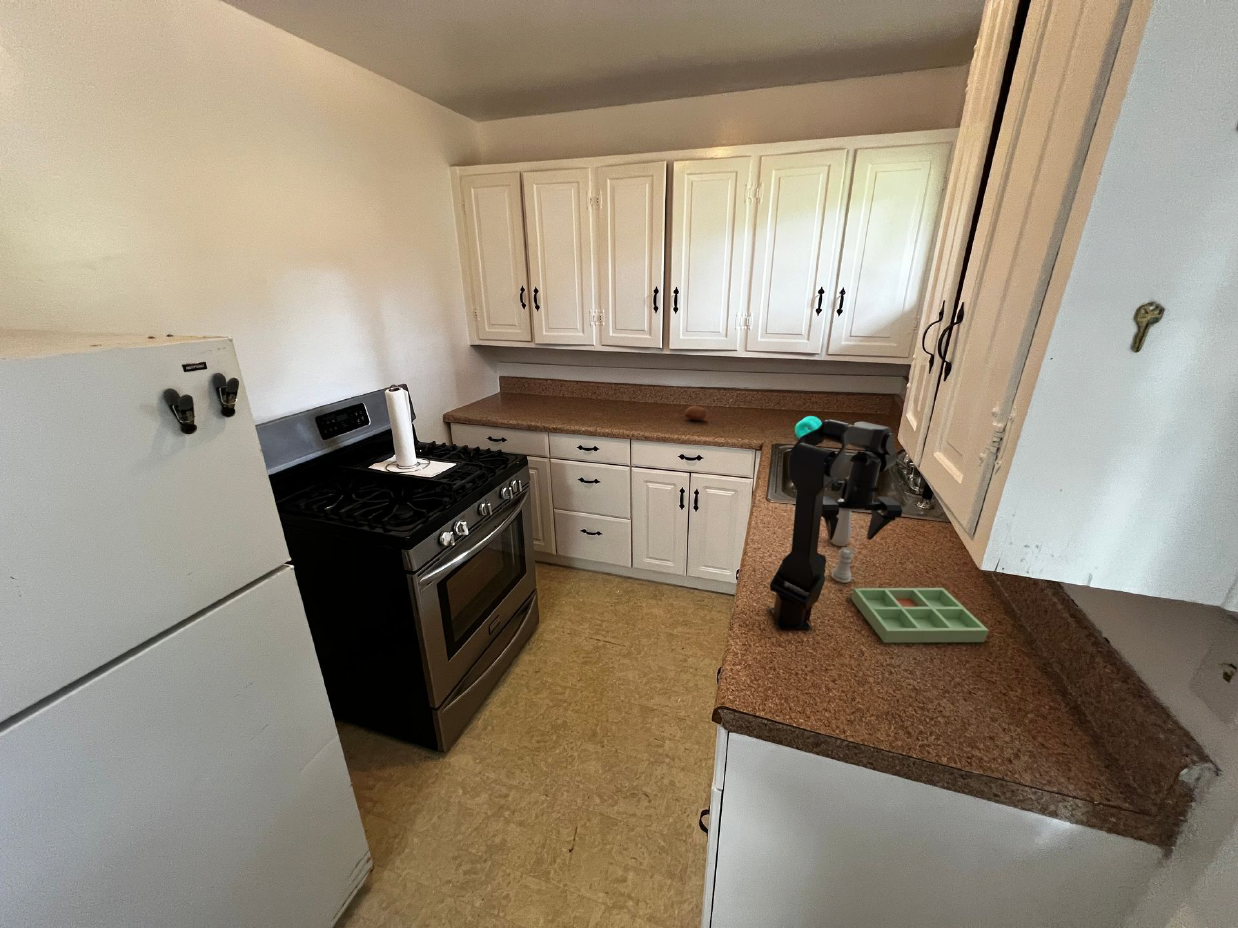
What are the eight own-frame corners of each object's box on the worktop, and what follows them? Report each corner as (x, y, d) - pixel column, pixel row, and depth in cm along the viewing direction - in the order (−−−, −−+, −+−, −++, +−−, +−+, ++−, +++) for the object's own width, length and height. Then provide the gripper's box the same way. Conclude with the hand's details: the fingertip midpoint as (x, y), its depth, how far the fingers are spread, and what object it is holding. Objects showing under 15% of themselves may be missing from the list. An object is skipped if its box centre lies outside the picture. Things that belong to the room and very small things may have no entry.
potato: (707, 422, 240) (708, 408, 238) (686, 422, 240) (687, 408, 237) (704, 418, 248) (705, 404, 246) (683, 418, 248) (684, 404, 245)
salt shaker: (827, 545, 131) (835, 502, 126) (826, 535, 136) (834, 494, 131) (850, 549, 129) (859, 506, 124) (848, 539, 134) (857, 497, 129)
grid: (884, 642, 96) (887, 630, 95) (851, 598, 109) (853, 587, 108) (984, 642, 97) (988, 630, 95) (939, 598, 110) (943, 587, 108)
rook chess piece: (834, 570, 119) (839, 543, 117) (853, 577, 117) (859, 549, 114) (828, 578, 116) (834, 550, 113) (847, 586, 114) (854, 557, 111)
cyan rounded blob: (821, 438, 219) (825, 417, 215) (815, 444, 211) (819, 422, 208) (799, 434, 224) (802, 413, 221) (792, 439, 217) (795, 418, 213)
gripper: (884, 465, 115) (871, 523, 120) (807, 464, 114) (797, 522, 120) (911, 484, 104) (895, 546, 110) (827, 483, 104) (815, 545, 110)
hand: (849, 539), depth 113 cm, fingers open, 9 cm apart
